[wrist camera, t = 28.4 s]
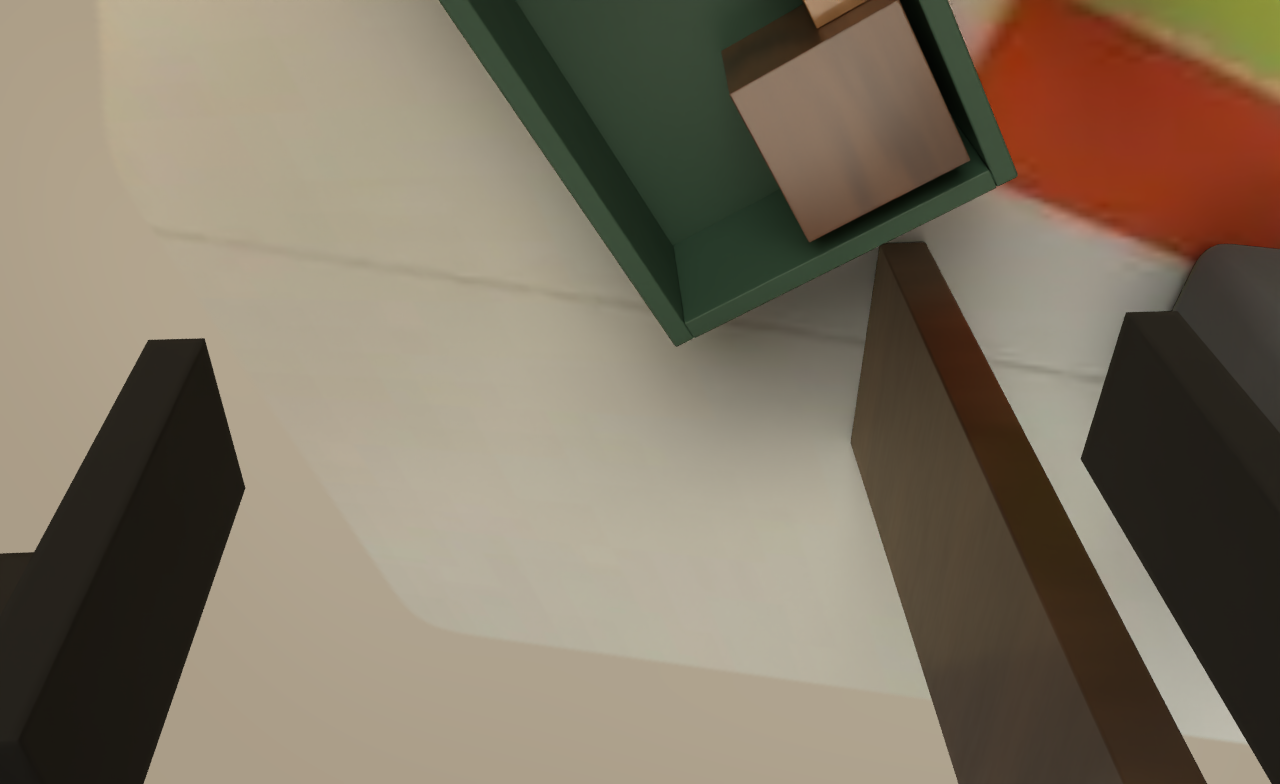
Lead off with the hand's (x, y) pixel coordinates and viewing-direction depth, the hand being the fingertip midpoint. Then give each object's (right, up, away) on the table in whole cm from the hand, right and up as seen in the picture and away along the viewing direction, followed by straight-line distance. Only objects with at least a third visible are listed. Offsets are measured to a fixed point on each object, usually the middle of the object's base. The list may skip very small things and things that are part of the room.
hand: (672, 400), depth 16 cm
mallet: (+6, +17, +19) cm, 26 cm away
